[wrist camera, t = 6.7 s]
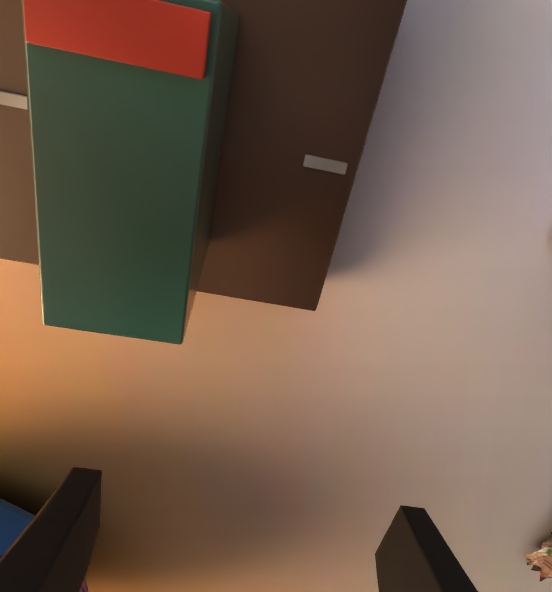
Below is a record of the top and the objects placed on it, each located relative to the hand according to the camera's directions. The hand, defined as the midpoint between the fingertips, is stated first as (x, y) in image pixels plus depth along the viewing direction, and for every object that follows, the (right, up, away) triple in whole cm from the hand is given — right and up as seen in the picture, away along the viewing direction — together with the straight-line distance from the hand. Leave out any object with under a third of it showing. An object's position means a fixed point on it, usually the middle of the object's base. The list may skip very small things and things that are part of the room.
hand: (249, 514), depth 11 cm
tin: (-3, +10, +3) cm, 11 cm away
